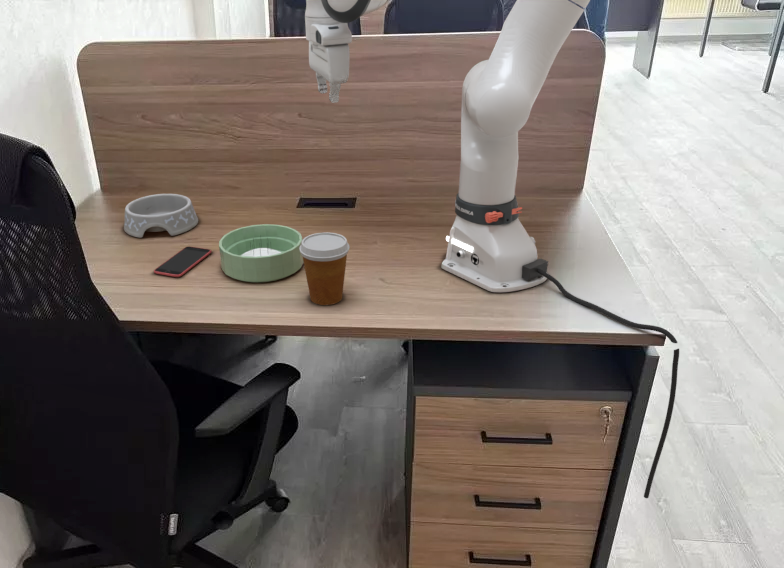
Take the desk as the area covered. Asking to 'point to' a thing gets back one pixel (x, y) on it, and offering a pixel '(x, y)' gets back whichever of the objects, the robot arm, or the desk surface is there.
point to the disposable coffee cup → (325, 266)
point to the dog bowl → (160, 215)
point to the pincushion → (261, 251)
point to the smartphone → (182, 261)
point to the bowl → (261, 266)
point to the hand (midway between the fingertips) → (328, 97)
